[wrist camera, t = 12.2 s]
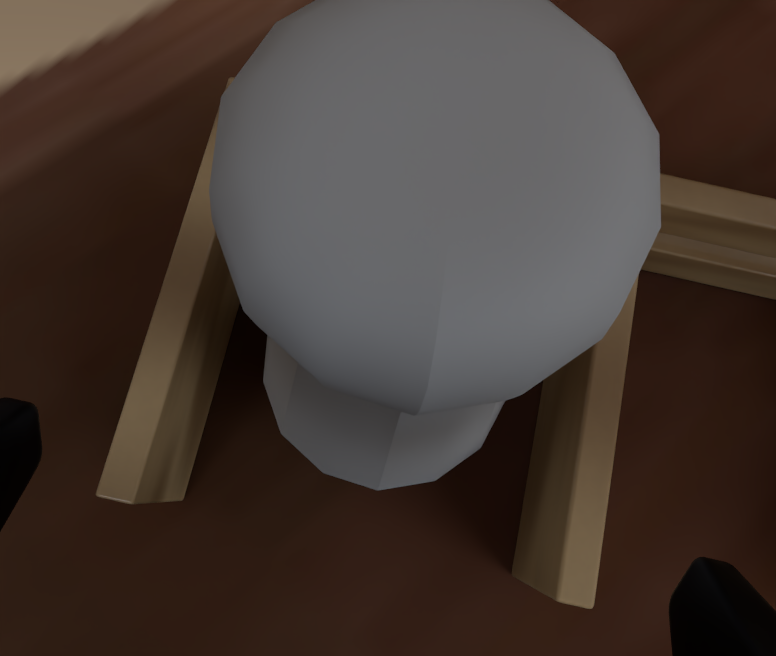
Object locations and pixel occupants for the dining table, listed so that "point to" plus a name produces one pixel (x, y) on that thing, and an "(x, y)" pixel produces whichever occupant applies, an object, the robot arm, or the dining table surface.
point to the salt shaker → (427, 218)
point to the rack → (558, 397)
